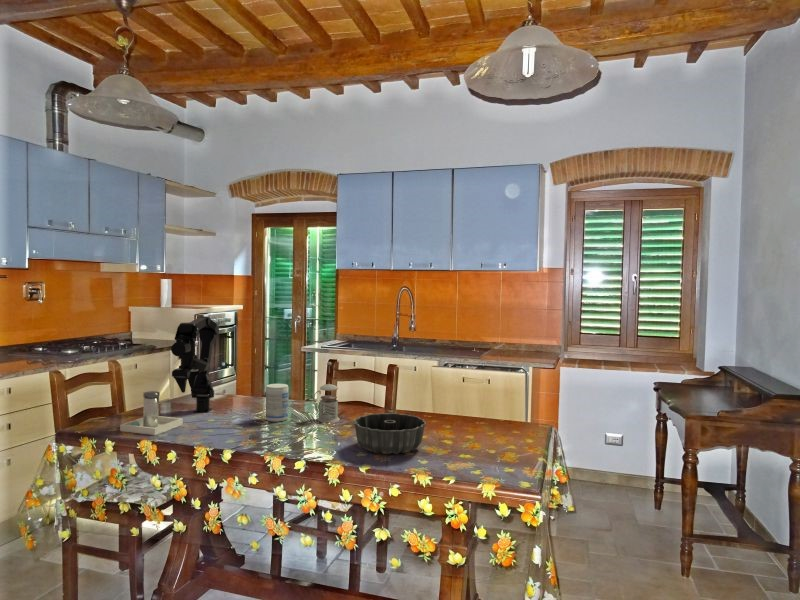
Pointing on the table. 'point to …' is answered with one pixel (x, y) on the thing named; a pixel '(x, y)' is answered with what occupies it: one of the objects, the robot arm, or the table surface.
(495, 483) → the table surface
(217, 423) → the table surface
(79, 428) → the table surface
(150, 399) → the shaker
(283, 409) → the supplement tub
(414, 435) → the bundt pan
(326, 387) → the french press
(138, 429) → the tray
